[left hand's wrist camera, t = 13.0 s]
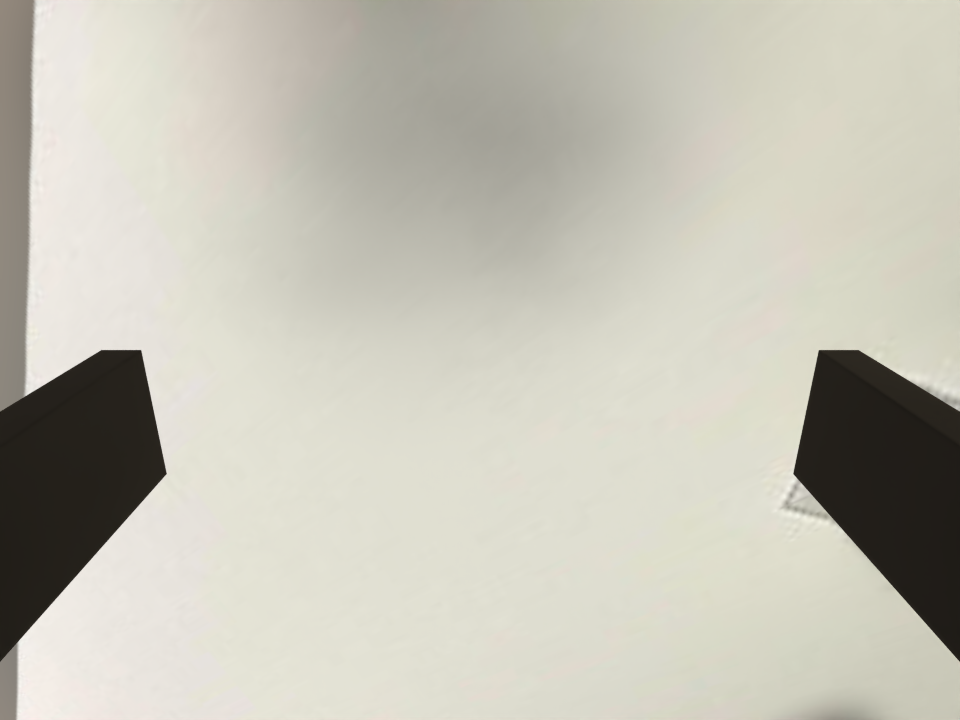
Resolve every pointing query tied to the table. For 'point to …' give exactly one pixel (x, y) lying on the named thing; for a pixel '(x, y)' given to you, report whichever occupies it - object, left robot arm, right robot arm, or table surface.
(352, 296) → the table surface
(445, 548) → the table surface
